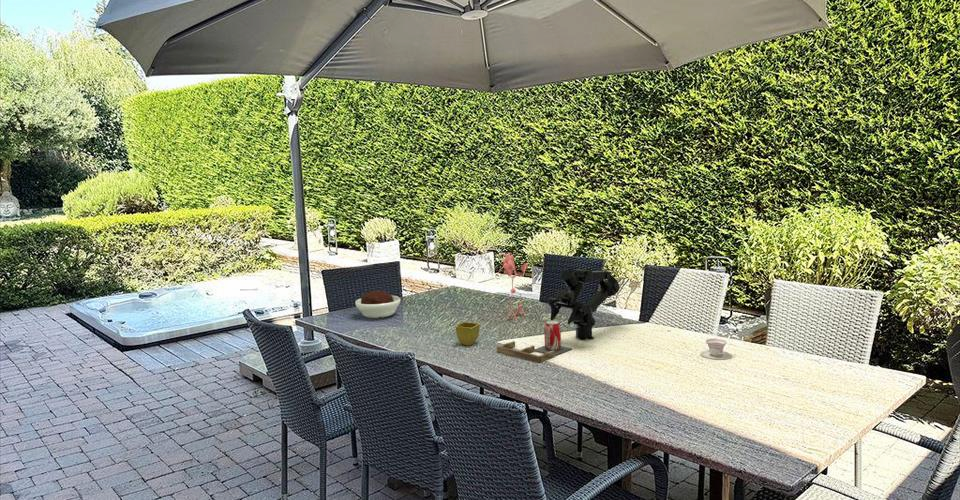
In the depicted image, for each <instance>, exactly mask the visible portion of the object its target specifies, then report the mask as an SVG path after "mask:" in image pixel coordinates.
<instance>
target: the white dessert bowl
mask: <svg viewBox="0 0 960 500" xmlns="http://www.w3.org/2000/svg"><path fill="white" fill-rule="evenodd" d="M400 303H401V298H400V297H399V296H397V295H392V294H390V293H389V292H388V293H387V291H386V290H371V291H369V292H365V293H364V294H363V295H362V296H361V298H358V299H356V300H355V306H356V308H357V309H358V310H359V311H360V313H361V314H362V316H363V317H365V318H371V319H380V318H379V317H382V318H386V317H389V316H392V315H393V314H395V312H396V310H397V308H398V307H399V305H400Z"/></svg>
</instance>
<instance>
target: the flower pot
mask: <svg viewBox="0 0 960 500" xmlns="http://www.w3.org/2000/svg"><path fill="white" fill-rule="evenodd" d="M480 326H481V323H479V322H468V321H463V322H460V323H459V324H457V325H455V326H454V327H455V334H456V337H457V340H458V342H459V343H460V345H462V344H463V346H464V345H465V346H472V345H474V344H475V343H476V341H478V338H479V335H480V328H481V327H480Z"/></svg>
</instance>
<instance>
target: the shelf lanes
mask: <svg viewBox="0 0 960 500" xmlns="http://www.w3.org/2000/svg"><path fill="white" fill-rule="evenodd" d="M514 348H516V341H513V340H512V341H509V342H507V343H504V344H500V345H498V346H496V353H497V354H498V353H499V354H502V355H505V356H511V357H514V358H519V359H522V360H527V361H530V362H534V363H537V364H541V363H543V362H545V361H547V360H550V359H552V358H555V357H556V356H555V351H554V350H552V351H550V352H547V353H545V354H542V353H541V354H540V355H537V354H533V353H536V352H535V349H536V348H535V345H530V346H527V347H525V348H522V349H518V350H516V349H514Z"/></svg>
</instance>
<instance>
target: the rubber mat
mask: <svg viewBox="0 0 960 500" xmlns="http://www.w3.org/2000/svg"><path fill="white" fill-rule="evenodd" d="M550 351H551V350H548V349H546V348H545V345H542V346H540V347H537V348H535V352H534V353H540V354H541V355H542V354H545V353H547V352H550ZM569 351H573V348H572V347H567V346H562V345H561V348H560V349H558V350H555V357H557V356H560V355H562V354H564V353H567V352H569Z"/></svg>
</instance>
